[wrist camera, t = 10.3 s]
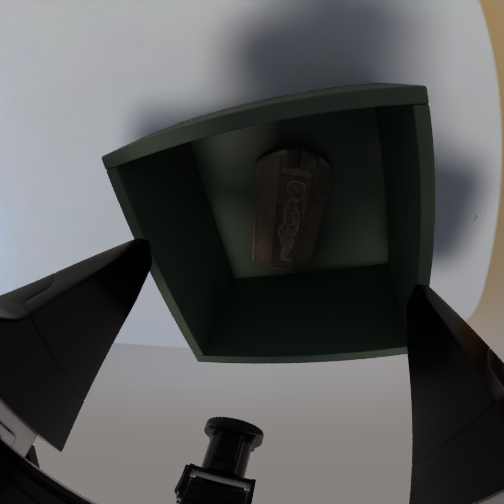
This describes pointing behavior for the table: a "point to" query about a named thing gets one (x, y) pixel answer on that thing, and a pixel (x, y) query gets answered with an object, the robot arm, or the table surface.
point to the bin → (329, 237)
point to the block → (289, 205)
